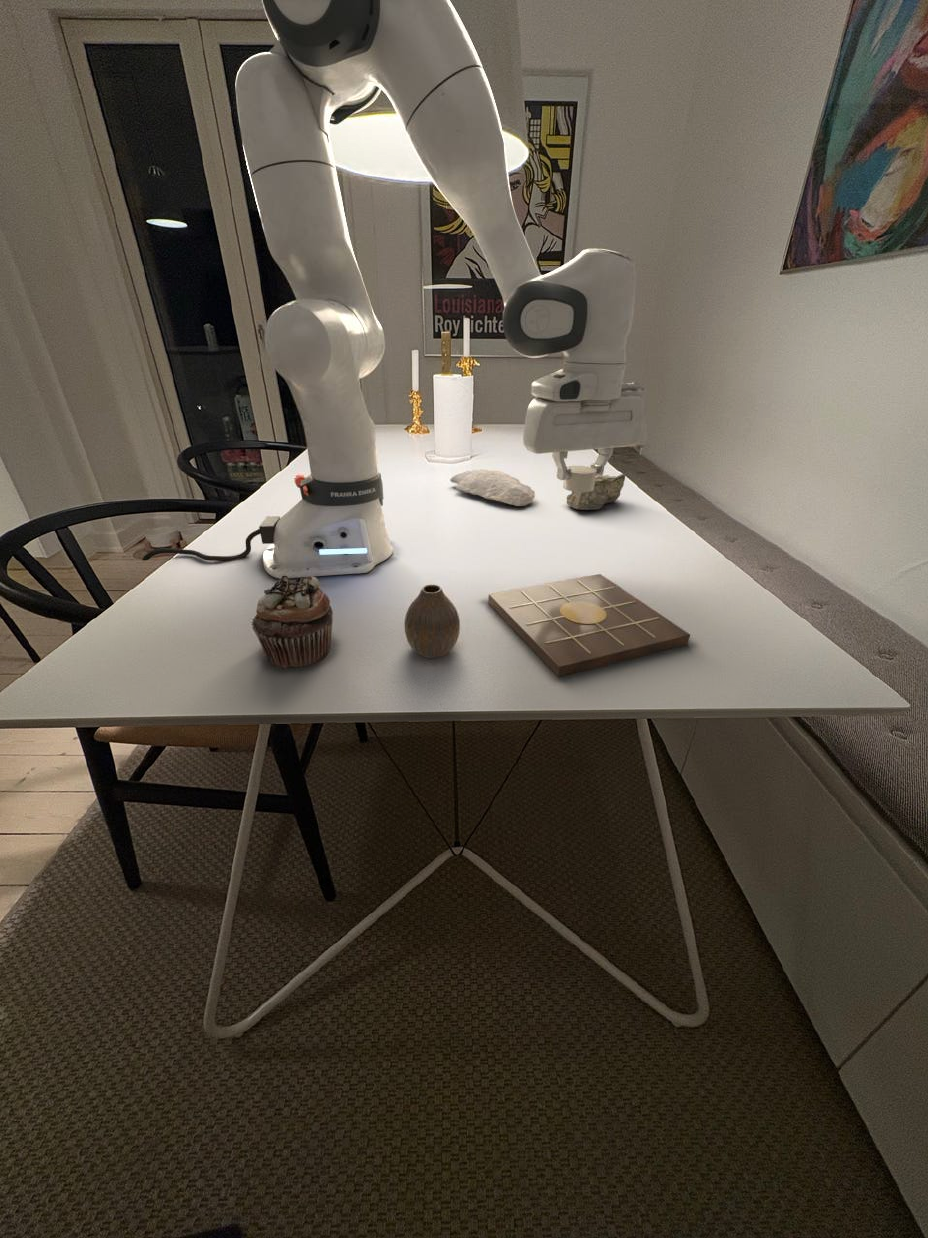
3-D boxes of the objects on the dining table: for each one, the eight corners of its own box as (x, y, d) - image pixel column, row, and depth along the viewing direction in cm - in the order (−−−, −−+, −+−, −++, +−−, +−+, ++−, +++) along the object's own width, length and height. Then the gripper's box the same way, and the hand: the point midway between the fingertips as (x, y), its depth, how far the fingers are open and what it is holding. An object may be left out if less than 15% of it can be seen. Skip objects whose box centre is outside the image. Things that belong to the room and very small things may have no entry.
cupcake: (337, 627, 70) (328, 560, 65) (336, 668, 62) (326, 594, 57) (264, 634, 68) (249, 565, 63) (253, 676, 60) (235, 602, 55)
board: (558, 677, 61) (559, 666, 60) (488, 602, 77) (488, 593, 76) (687, 644, 68) (690, 633, 67) (598, 582, 83) (600, 573, 83)
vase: (416, 670, 62) (413, 606, 57) (399, 641, 67) (395, 581, 63) (468, 657, 64) (469, 596, 60) (447, 631, 70) (447, 572, 65)
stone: (438, 489, 130) (504, 514, 113) (437, 467, 127) (505, 490, 110) (484, 477, 138) (553, 499, 122) (485, 456, 136) (555, 476, 119)
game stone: (574, 493, 81) (576, 474, 79) (557, 485, 85) (559, 467, 83) (600, 490, 82) (603, 471, 81) (582, 482, 86) (584, 464, 85)
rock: (592, 474, 125) (631, 470, 119) (595, 501, 128) (633, 499, 121) (554, 485, 114) (595, 481, 107) (557, 515, 116) (597, 513, 109)
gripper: (633, 380, 82) (619, 467, 89) (521, 383, 75) (515, 478, 82) (661, 384, 77) (643, 476, 84) (544, 388, 70) (535, 488, 77)
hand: (579, 477), depth 83 cm, fingers closed on game stone, 5 cm apart
